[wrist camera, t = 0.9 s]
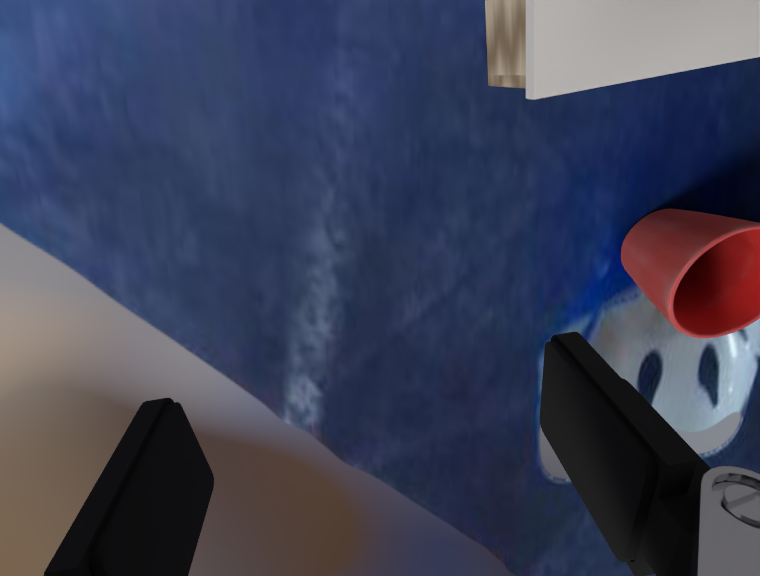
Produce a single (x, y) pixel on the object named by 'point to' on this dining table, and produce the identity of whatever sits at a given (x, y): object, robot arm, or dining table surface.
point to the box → (506, 42)
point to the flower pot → (697, 269)
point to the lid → (632, 40)
